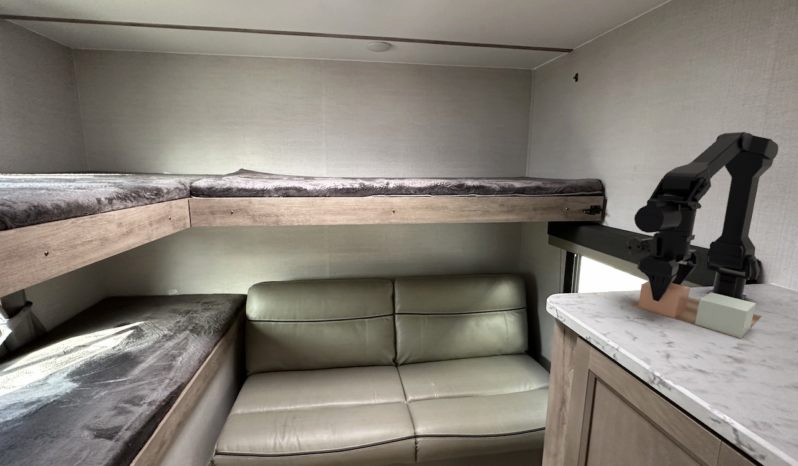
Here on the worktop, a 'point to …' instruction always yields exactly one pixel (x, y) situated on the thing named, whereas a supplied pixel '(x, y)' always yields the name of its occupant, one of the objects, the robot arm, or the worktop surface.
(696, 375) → the worktop surface
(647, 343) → the worktop surface
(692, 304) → the walnut board
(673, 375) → the worktop surface
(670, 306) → the salmon foam cube
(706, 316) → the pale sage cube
